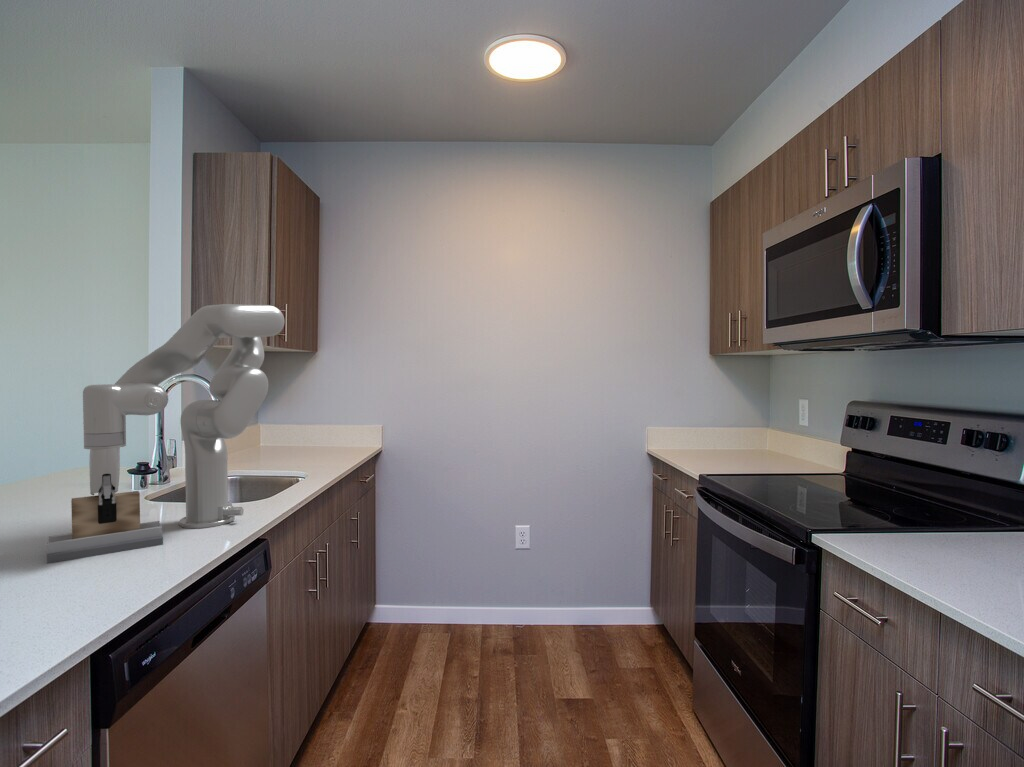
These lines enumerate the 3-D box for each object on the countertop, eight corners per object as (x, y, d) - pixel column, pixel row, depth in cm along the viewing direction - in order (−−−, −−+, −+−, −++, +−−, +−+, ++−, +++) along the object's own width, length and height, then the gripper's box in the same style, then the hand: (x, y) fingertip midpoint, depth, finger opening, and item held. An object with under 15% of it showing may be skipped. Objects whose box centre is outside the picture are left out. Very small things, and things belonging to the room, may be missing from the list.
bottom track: (158, 533, 132) (158, 519, 132) (163, 544, 124) (162, 528, 124) (49, 550, 120) (49, 534, 120) (47, 563, 112) (46, 546, 112)
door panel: (139, 534, 127) (138, 490, 127) (140, 537, 125) (139, 493, 124) (72, 544, 120) (71, 498, 119) (72, 547, 117) (71, 501, 117)
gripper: (83, 437, 126) (85, 512, 127) (83, 446, 112) (85, 529, 113) (124, 435, 131) (125, 507, 131) (128, 443, 117) (129, 523, 117)
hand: (106, 517), depth 122 cm, fingers open, 9 cm apart
